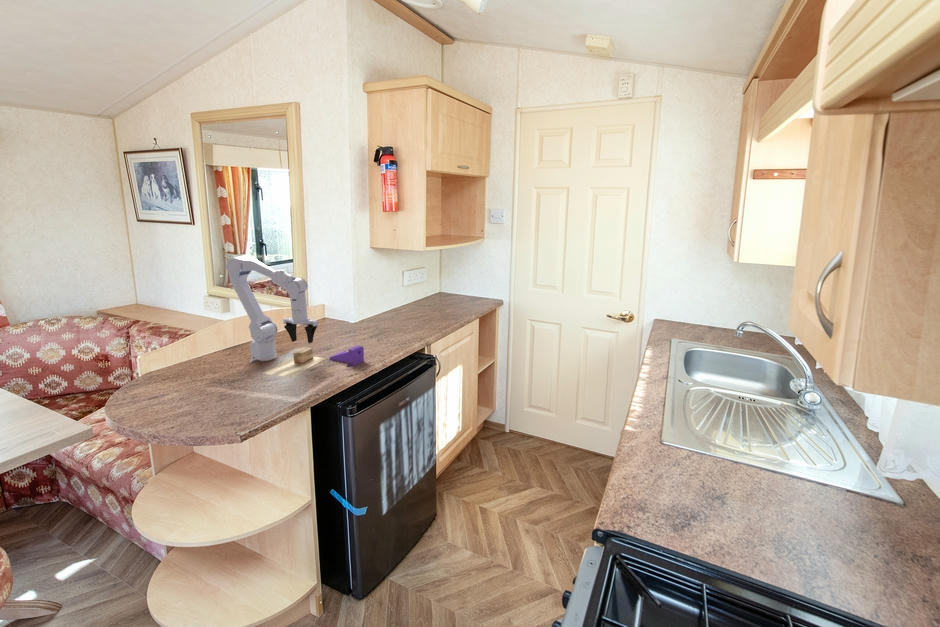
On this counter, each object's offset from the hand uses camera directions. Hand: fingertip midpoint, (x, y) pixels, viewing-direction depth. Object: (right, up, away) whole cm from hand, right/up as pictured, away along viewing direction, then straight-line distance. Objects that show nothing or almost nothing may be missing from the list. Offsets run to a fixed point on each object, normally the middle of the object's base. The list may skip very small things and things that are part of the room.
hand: (302, 341), depth 194 cm
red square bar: (+8, -7, +7) cm, 13 cm away
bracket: (+17, -8, +3) cm, 19 cm away
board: (-2, -10, -3) cm, 11 cm away
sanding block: (0, -8, +2) cm, 8 cm away
